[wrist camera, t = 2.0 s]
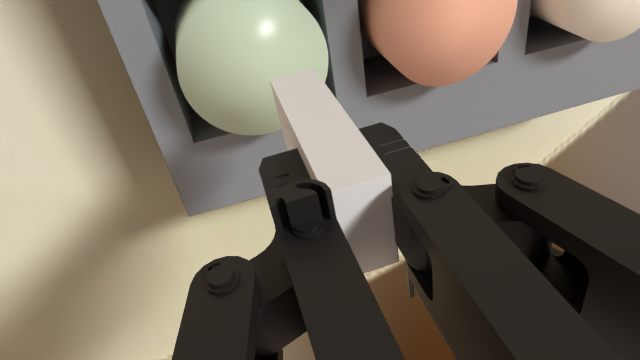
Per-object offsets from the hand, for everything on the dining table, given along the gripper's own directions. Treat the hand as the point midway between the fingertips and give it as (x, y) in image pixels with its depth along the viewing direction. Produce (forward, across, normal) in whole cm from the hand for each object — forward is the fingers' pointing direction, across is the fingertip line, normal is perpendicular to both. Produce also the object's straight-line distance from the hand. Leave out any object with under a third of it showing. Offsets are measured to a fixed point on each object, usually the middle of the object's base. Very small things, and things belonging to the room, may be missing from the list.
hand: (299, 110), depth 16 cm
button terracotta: (+8, +8, 0) cm, 11 cm away
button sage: (+8, -1, 0) cm, 8 cm away
